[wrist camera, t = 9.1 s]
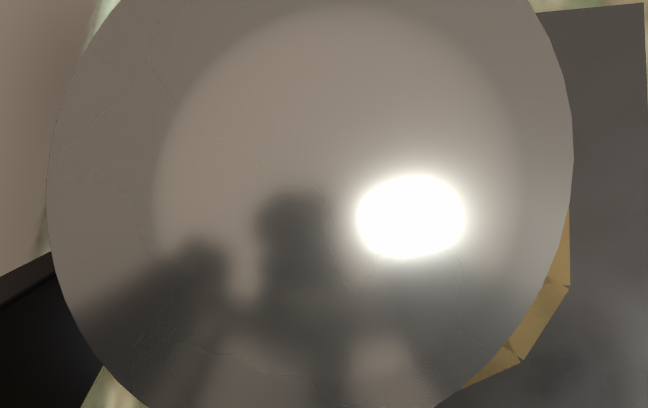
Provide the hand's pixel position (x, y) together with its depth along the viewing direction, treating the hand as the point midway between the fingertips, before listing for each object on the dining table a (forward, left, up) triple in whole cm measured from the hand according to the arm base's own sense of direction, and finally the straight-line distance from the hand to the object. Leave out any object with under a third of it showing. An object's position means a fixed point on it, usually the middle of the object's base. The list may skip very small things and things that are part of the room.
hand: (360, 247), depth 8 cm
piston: (+1, 0, -8) cm, 8 cm away
